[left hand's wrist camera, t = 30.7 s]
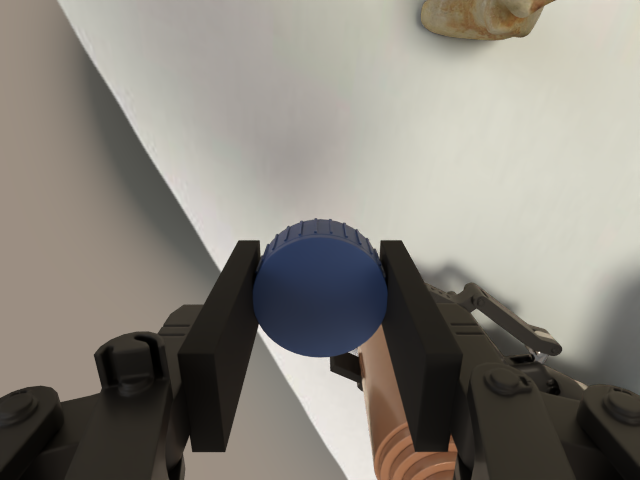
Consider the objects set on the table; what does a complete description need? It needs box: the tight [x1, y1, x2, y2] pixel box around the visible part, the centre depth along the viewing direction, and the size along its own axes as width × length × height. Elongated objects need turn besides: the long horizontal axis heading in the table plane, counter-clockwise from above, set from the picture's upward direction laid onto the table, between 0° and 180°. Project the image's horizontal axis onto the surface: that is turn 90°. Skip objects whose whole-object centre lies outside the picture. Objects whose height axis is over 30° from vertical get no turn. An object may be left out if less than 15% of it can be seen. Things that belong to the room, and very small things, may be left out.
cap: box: [253, 218, 388, 357], centre depth 14 cm, size 4×4×2 cm
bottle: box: [357, 324, 457, 480], centre depth 30 cm, size 8×8×24 cm
